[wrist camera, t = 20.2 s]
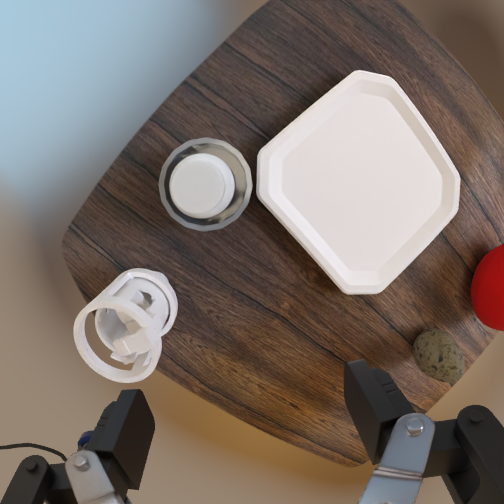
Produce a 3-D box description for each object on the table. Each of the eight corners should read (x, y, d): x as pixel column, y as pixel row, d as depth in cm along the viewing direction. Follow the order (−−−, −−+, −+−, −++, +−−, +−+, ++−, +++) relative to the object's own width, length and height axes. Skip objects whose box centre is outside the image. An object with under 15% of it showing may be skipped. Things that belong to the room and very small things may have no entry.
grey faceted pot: (178, 227, 33) (167, 237, 28) (166, 152, 31) (152, 147, 26) (254, 215, 33) (258, 223, 28) (243, 138, 31) (244, 131, 26)
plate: (462, 194, 33) (472, 196, 31) (353, 305, 36) (360, 313, 34) (367, 61, 29) (374, 55, 27) (234, 173, 32) (234, 173, 30)
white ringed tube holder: (196, 301, 35) (172, 381, 21) (143, 319, 35) (98, 397, 21) (171, 244, 33) (125, 295, 19) (117, 266, 34) (51, 322, 19)
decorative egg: (440, 315, 37) (481, 348, 28) (436, 350, 39) (472, 386, 29) (405, 326, 37) (443, 364, 28) (403, 362, 39) (436, 403, 29)
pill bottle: (238, 205, 32) (239, 218, 23) (187, 213, 32) (167, 229, 23) (231, 154, 31) (228, 144, 21) (179, 162, 31) (155, 157, 21)
